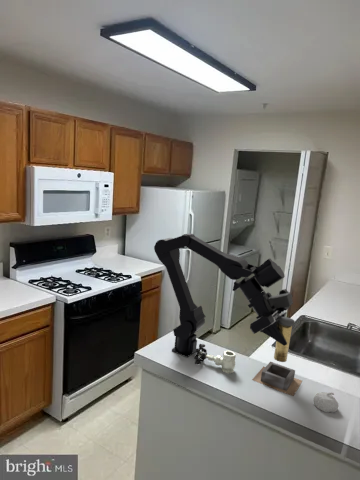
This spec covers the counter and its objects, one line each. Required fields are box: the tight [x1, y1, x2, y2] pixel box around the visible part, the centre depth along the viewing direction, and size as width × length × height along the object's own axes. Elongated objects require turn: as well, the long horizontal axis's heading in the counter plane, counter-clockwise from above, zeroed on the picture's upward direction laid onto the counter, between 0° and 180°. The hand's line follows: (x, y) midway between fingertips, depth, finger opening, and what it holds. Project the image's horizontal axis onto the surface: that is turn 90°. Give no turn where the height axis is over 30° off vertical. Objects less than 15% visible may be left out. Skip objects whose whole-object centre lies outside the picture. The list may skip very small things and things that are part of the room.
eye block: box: [251, 361, 303, 397], centre depth 102 cm, size 12×10×4 cm
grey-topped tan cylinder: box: [273, 316, 295, 363], centre depth 100 cm, size 5×5×12 cm
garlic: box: [313, 392, 339, 413], centre depth 92 cm, size 6×5×5 cm
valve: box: [193, 343, 236, 375], centre depth 107 cm, size 7×7×12 cm
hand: (287, 342), depth 100 cm, fingers closed on grey-topped tan cylinder, 4 cm apart
